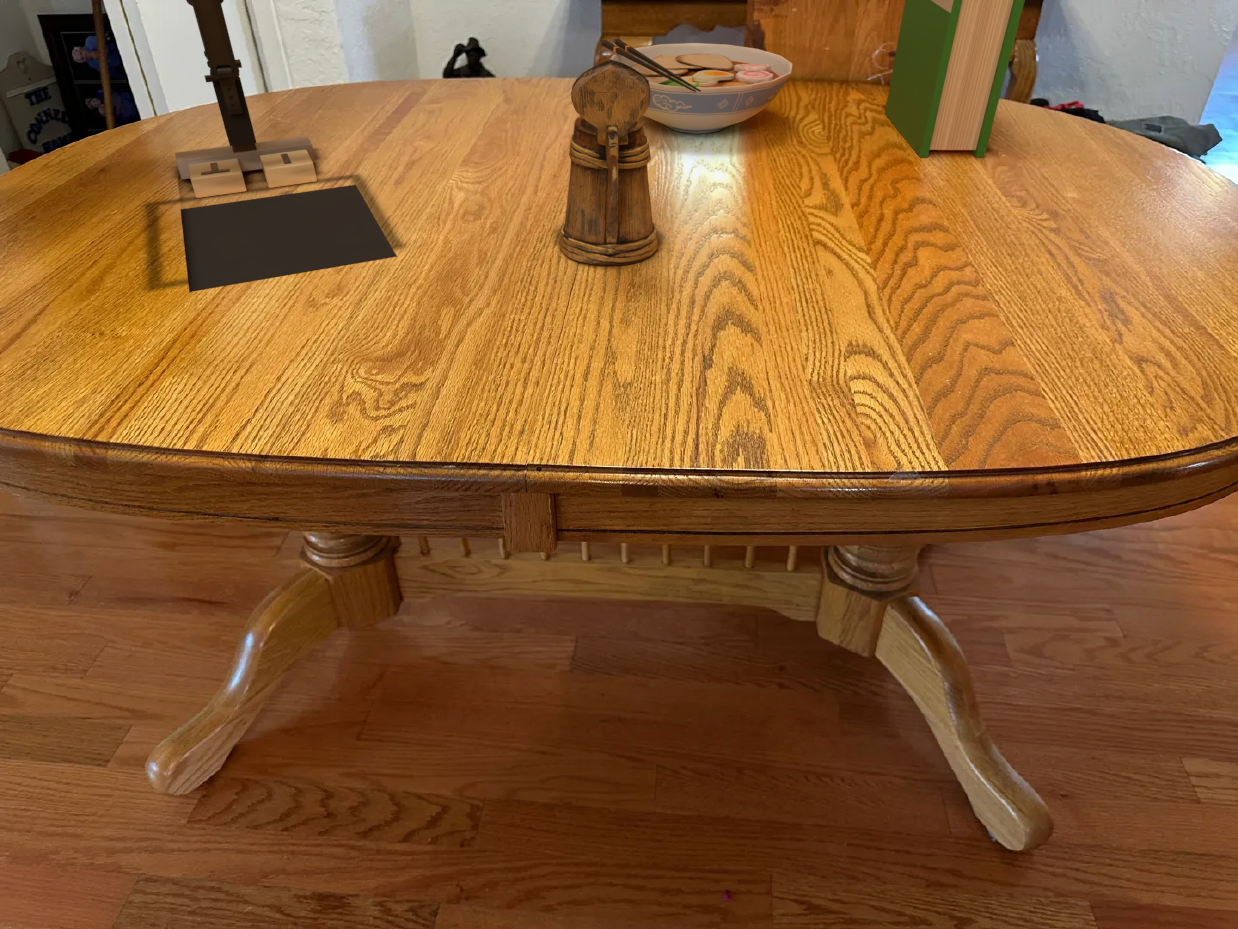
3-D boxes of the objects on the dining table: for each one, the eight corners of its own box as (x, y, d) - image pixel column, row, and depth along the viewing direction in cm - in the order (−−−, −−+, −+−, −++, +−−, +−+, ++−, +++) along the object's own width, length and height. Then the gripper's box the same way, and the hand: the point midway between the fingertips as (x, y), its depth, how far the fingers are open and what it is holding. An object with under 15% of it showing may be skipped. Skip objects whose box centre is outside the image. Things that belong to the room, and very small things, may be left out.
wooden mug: (557, 291, 72) (547, 60, 61) (561, 227, 82) (552, 21, 71) (663, 290, 72) (672, 59, 61) (653, 226, 83) (659, 20, 72)
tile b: (263, 173, 94) (258, 154, 93) (310, 167, 96) (306, 148, 95) (269, 188, 91) (264, 168, 89) (317, 181, 92) (313, 161, 91)
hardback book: (984, 157, 99) (1047, -89, 84) (919, 157, 99) (972, -89, 84) (940, 113, 113) (989, -104, 98) (884, 113, 113) (924, -104, 98)
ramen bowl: (826, 143, 103) (837, 70, 98) (652, 167, 96) (654, 90, 91) (730, 92, 121) (735, 28, 116) (578, 108, 114) (576, 42, 109)
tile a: (193, 182, 92) (187, 163, 91) (242, 176, 94) (237, 156, 92) (196, 198, 88) (190, 178, 87) (247, 191, 90) (241, 171, 89)
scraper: (180, 170, 94) (143, 51, 86) (311, 153, 98) (287, 39, 91) (181, 179, 91) (143, 58, 84) (315, 161, 96) (290, 45, 89)
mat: (153, 214, 85) (153, 213, 85) (356, 185, 92) (355, 184, 92) (157, 298, 71) (156, 296, 71) (396, 257, 77) (396, 255, 77)
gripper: (222, -118, 74) (286, 155, 89) (210, -129, 85) (269, 116, 100) (127, -116, 72) (209, 165, 86) (127, -127, 83) (200, 123, 97)
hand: (241, 138), depth 93 cm, fingers closed on scraper, 2 cm apart
